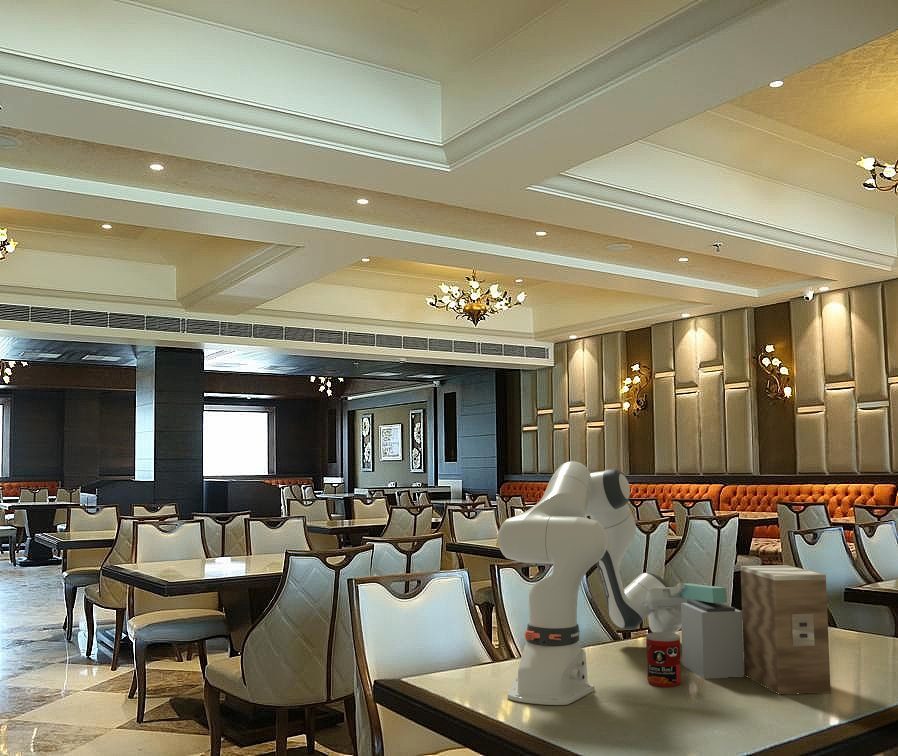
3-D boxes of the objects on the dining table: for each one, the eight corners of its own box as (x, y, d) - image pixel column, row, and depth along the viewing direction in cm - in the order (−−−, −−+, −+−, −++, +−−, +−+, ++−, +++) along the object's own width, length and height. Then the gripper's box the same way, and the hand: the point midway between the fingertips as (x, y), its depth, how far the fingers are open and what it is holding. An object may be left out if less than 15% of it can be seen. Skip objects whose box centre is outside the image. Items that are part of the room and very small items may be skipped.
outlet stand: (744, 675, 215) (740, 566, 217) (791, 673, 216) (787, 565, 218) (780, 695, 197) (776, 576, 199) (832, 693, 198) (827, 575, 200)
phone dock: (682, 665, 226) (680, 599, 227) (720, 664, 227) (718, 598, 228) (703, 678, 212) (701, 609, 213) (744, 677, 213) (741, 608, 214)
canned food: (643, 685, 206) (642, 636, 207) (652, 677, 213) (651, 630, 214) (676, 689, 203) (675, 639, 204) (684, 681, 210) (683, 633, 211)
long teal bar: (677, 597, 238) (677, 583, 239) (690, 596, 238) (689, 583, 239) (713, 602, 215) (712, 588, 215) (727, 602, 215) (726, 587, 216)
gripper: (638, 595, 244) (652, 575, 233) (710, 593, 246) (727, 574, 235) (642, 617, 240) (656, 598, 229) (715, 615, 242) (733, 596, 231)
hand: (693, 586), depth 232 cm, fingers open, 5 cm apart
